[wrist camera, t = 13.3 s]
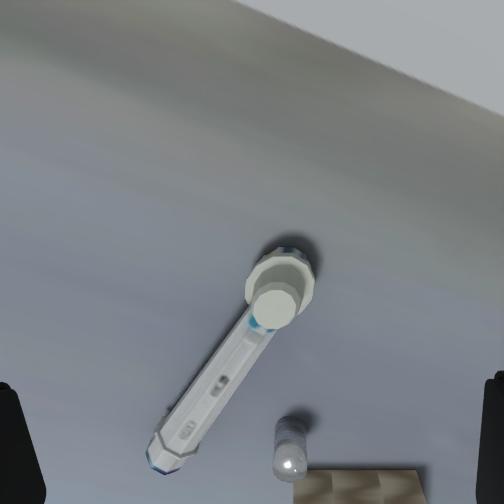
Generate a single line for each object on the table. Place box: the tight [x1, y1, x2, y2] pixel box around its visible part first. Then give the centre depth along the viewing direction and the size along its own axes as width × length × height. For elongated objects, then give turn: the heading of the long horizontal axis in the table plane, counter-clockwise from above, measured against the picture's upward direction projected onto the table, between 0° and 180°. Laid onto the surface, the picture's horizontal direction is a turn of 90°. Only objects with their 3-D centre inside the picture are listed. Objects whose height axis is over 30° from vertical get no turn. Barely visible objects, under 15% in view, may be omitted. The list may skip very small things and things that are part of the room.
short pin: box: [273, 417, 307, 483], centre depth 41 cm, size 3×3×5 cm
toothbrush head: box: [145, 247, 315, 475], centre depth 39 cm, size 5×7×25 cm
